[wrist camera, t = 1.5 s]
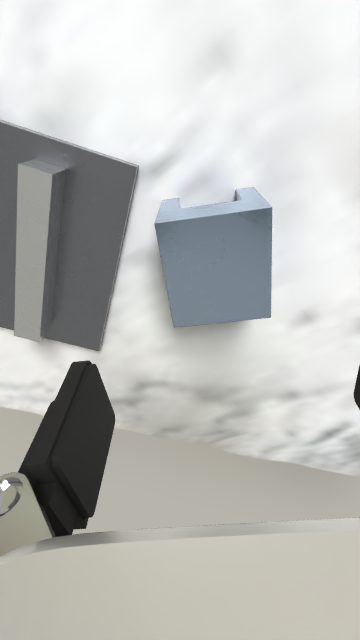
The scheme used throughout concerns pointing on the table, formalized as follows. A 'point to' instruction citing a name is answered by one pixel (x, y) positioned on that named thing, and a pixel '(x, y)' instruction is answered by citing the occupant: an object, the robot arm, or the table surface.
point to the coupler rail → (59, 235)
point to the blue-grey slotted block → (217, 259)
